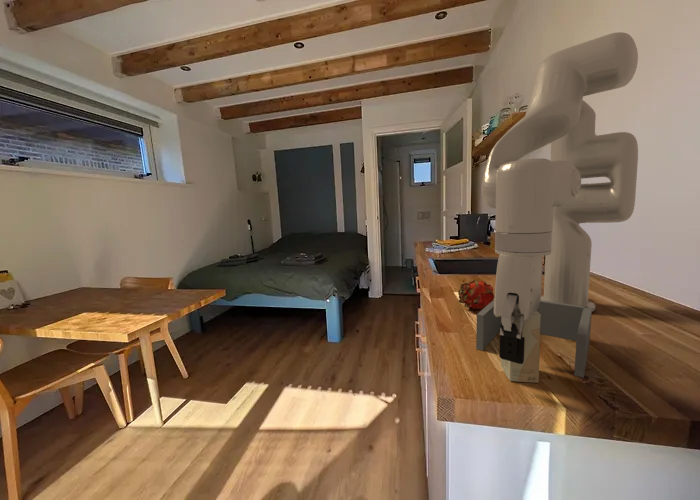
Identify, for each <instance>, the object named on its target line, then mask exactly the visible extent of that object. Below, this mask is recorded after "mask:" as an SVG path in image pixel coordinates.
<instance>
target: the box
mask: <svg viewBox="0 0 700 500" xmlns="http://www.w3.org/2000/svg"><path fill="white" fill-rule="evenodd" d="M514 315H515V316H521V315H517V314H514ZM540 321H541V314H540V313H538V312H537V311H536V312H535V313H534V315H533V317H532V319H531V320H530V321H528V322H525V324H524V329H523V335H522V337H525V346H524V362H523V364H518V363H515V362H511V361H507V360H504V359H501V358H500V367H501V368H502V370H503V372H504V374H505V375H506V378H508V381H511V382H520V383H522V382H523V383H534V384H535V383H540V357H541V355H540V352H541V351H540V348H541V346H540V345H541V334H540ZM501 323H502V320H501ZM513 323H514V324H516V326H517V329H518V324H519V322H513Z"/></svg>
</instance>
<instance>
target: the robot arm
mask: <svg viewBox="0 0 700 500" xmlns="http://www.w3.org/2000/svg"><path fill="white" fill-rule="evenodd" d="M638 54H639V53H638V48H637V45H636V42H635V40H634V38H633V37H632V35H630V34H629V33H627V32H621V31H620V32H618V31H617V32H612V33H609V34H605V35H603V36H600V37H596V38H594V39H590V40H588V41H584V42H581V43H578V44H576V45H572V46H569V47H566V48H564V49H561V50H558V51H556V52H554V53H552V54H550V55H548V56H547V57H546V58H545V59H543V60H542V62H541V63H540V64H539V65H538V67H537V69H536V71H535V74H534V77H533V82H532V85H531V86H532V87H531V90H530V94H529V99H528V103H527V107H526V110H525V111H526V112H525V115H524V117H522V118H521V119H519V121H517V122H516V123H515V124H514V125H513V126H512V127H511V128H509V129H508V130H507V131H506V132H505V133H504V134H503V135H502V137H500V138H499V140H498V141H496V143H495V145H494V146H493V148H492V149H491V150H490V152H489V155H488V158H487V160H486V164H485V167H484V172H483V176H482V181H481V198H482V201H483V202H484V204H485V206H487V207H488V208H490V209H494V210H495V233H494V234H495V235H494V236H495V237H494V238H495V239H494V253H495V254H498V259H497V266H496V274H495V285H494V296H495V298H494V315H495V316H496V317H500V316H501V320H502V323H501V325H500V327H501V328H500V331H499V353H498V354H499V355H498V357H499V358H500V360H501V359H504V360H507V361H511V362H515V363H518V364H523V362H524V346H525V337H522V335H523V329H524V324H525V322H528V321H530V320H531V319H532V317H533V315H534V313H535V312H536V311H537V310H538V308H539V305H540V300H544V301H551V302H558V303H565V304H572V305H579V306H586V307H592V312H595V310H596V304H595V303H593V302H592V301H590V300H589V292H590V291H589V289H590V276H591V275H590V273H591V261H592V260H591V259H592V239H591V236H590V235H589V233H587V231H586V230H585V229H583V228H582V227H581V225H580V224H590V223H591V224H601V223H603V224H604V223H605V224H606V223H611V224H612V223H623V222H625V221H627V220H629V219H630V218H631V217H632V215H633V213H634V210H635V205H636V194H637V193H636V192H637V179H638V178H637V177H638V176H637V175H638V163H639V162H638V161H639V144H638V141H637V138H636V137H635V135H634V134H633V133H630V132H626V131H623V132H622V131H620V132H619V131H618V132H612V133H605V134H600V135H597V134H596V119H597V118H596V115H597V114H596V112H595V110H594V108H592V107H591V105H590V104H589V103H588V102H587V101H585V100H583V99H584V97H586V96H590V95H595V94H599V93H602V92H603V93H604V92H607V91H612V90H616V89H620V88H623V87H625V86H627V85H629V84H630V82H631V81H632V79H633V77H634V76H635V74H636V71H637V68H638V62H639V61H638V60H639V55H638ZM549 144H550V159H547V158H526V159H521V158H524V156H527V155H528V154H530V153H532V152H534V151H536V150H539V149H540V148H543V147H545V146H547V145H549ZM592 178H593V179H594V178H607V179H608V180H609V182H607V181H605V182H596V183H595V182H593V183H592V182H591V183H582V180H583V179H592ZM543 256H544V257H545V258H544V259H545V260H544V283H543ZM542 284H543V286H542ZM542 287H543V295H542ZM514 314H517V315H521V316H515V315H514ZM513 322H519V324H518V329H517V326H516V324H514V323H513Z"/></svg>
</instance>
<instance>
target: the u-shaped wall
mask: <svg viewBox="0 0 700 500" xmlns="http://www.w3.org/2000/svg"><path fill="white" fill-rule="evenodd" d="M537 312H538V313H540V314H541V321H540V335H544V336H550V337H555V338H559V339H560V338H561V339H563V340H564V339H565V340H569V341H573V342H575V356H574V357H575V358H574V360H575V361H574V376H576V377H579V378H583V379H584V378H585V373H586V372H585V371H586V366H587V361H588V360H587V359H588V356H589V355H588V353H589V347H590V340H591V328H592V315H593V314H592V307H586V306H579V305H572V304H565V303H558V302H551V301H544V300H540V305H539V308H538V310H537ZM500 325H501V316H500V317H496V316H495V315H494V300H493V301H492V302H491V303H490V304H488V305H487V306H486V307H485V308H484V309H483V310H479V311H478V312H477V313H476V334H475V335H476V338H475V339H476V340H475V341H476V343H475V345H476V347H475V349H476V350H478V351H482V352H483V351H484V350H485V349H486V348H487V346H488V345H489V344H490V343H491V341H493V339H495V337H496V336H497V334H499V333H500V328H501V327H500Z"/></svg>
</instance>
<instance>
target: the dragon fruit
mask: <svg viewBox="0 0 700 500" xmlns="http://www.w3.org/2000/svg"><path fill="white" fill-rule="evenodd" d="M457 293H458V295H457V296H458V299H459V300H458V302H459V303H460V304H462V305H464V307H465V308H468V309H469V310H470V311H474V310H476V309H478V310H479V311H481V310H483V309H484V308H485V307H486V306H487V305H488V304H490V303H491V302H492V301H493V300H494V298H495V293H494V288H493V286H492V285H491V284H489V283H487V282H486V281H485V280H483V279H482V280H479V281H477V280H475V279H474V280H471V281H468V282H465V283H462V284H461V285H460V288H459V290H458V292H457Z"/></svg>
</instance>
